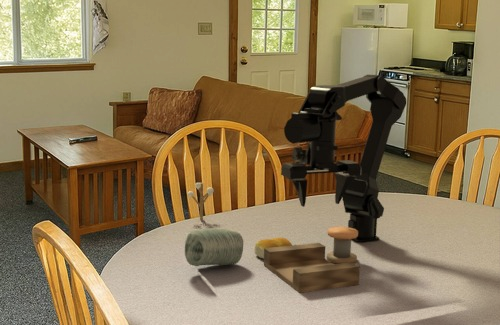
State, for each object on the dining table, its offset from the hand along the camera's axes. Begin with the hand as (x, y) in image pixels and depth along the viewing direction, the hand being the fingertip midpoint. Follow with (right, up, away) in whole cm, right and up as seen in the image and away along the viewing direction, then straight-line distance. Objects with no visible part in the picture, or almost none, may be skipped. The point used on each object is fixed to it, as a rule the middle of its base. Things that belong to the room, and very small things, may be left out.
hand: (320, 205), depth 159 cm
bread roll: (-10, -12, +3) cm, 16 cm away
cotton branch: (-30, -7, +27) cm, 41 cm away
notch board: (-4, -14, -13) cm, 20 cm away
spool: (-26, -14, -11) cm, 32 cm away
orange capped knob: (+5, -13, -2) cm, 14 cm away
